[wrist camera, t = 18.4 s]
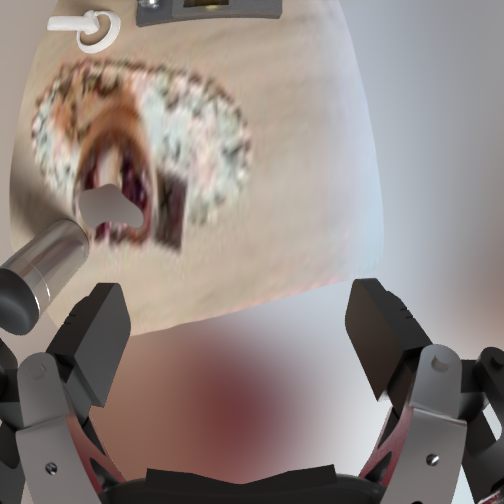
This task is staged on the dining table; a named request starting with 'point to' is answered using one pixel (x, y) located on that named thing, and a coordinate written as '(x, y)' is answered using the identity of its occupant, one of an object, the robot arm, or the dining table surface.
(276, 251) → the dining table surface
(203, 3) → the pin
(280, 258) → the dining table surface
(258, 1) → the grey plate with studs
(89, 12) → the white vr controller
